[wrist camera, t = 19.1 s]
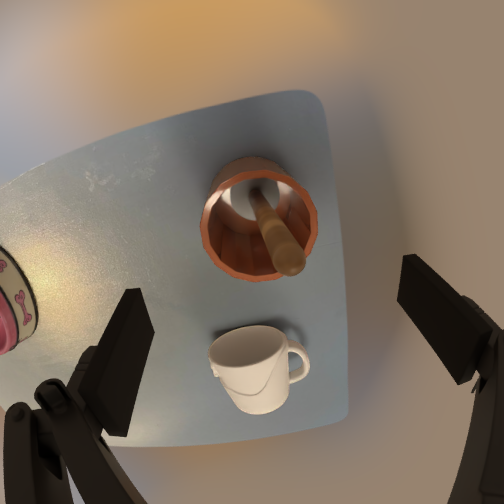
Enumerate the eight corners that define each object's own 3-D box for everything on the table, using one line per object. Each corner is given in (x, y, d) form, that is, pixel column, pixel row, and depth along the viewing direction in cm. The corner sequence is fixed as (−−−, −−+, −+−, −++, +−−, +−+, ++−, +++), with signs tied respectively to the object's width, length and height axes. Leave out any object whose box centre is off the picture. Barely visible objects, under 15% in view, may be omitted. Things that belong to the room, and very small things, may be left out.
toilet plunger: (220, 187, 32) (206, 254, 12) (258, 160, 31) (310, 180, 11) (247, 223, 33) (275, 336, 13) (284, 197, 33) (367, 275, 13)
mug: (227, 378, 44) (228, 420, 37) (209, 332, 40) (205, 375, 33) (306, 362, 43) (318, 402, 36) (298, 313, 40) (311, 353, 32)
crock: (204, 162, 31) (191, 178, 22) (291, 152, 32) (315, 165, 22) (215, 242, 35) (210, 287, 26) (296, 233, 35) (318, 274, 26)
